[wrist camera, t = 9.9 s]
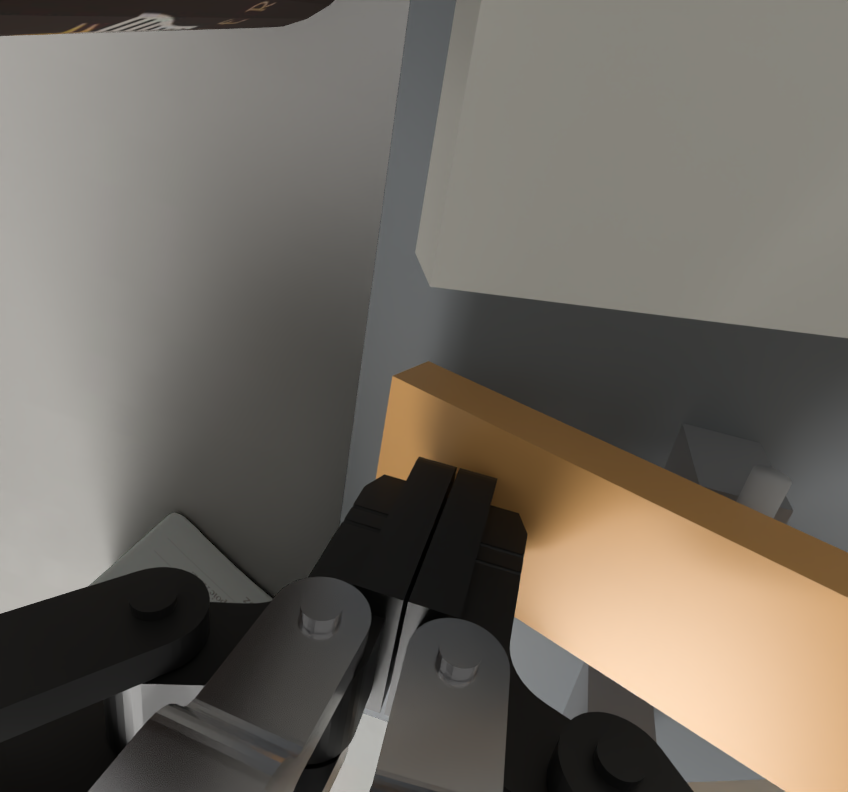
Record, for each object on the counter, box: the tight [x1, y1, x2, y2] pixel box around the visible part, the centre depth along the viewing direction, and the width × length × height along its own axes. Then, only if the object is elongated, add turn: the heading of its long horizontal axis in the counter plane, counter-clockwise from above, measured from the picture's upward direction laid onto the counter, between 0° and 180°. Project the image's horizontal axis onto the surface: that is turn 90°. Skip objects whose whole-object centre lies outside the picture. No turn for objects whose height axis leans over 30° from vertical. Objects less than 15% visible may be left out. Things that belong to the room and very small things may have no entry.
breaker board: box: [339, 0, 848, 782], centre depth 13 cm, size 22×16×6 cm
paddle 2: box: [376, 361, 848, 792], centre depth 10 cm, size 4×13×1 cm, turn 80°
